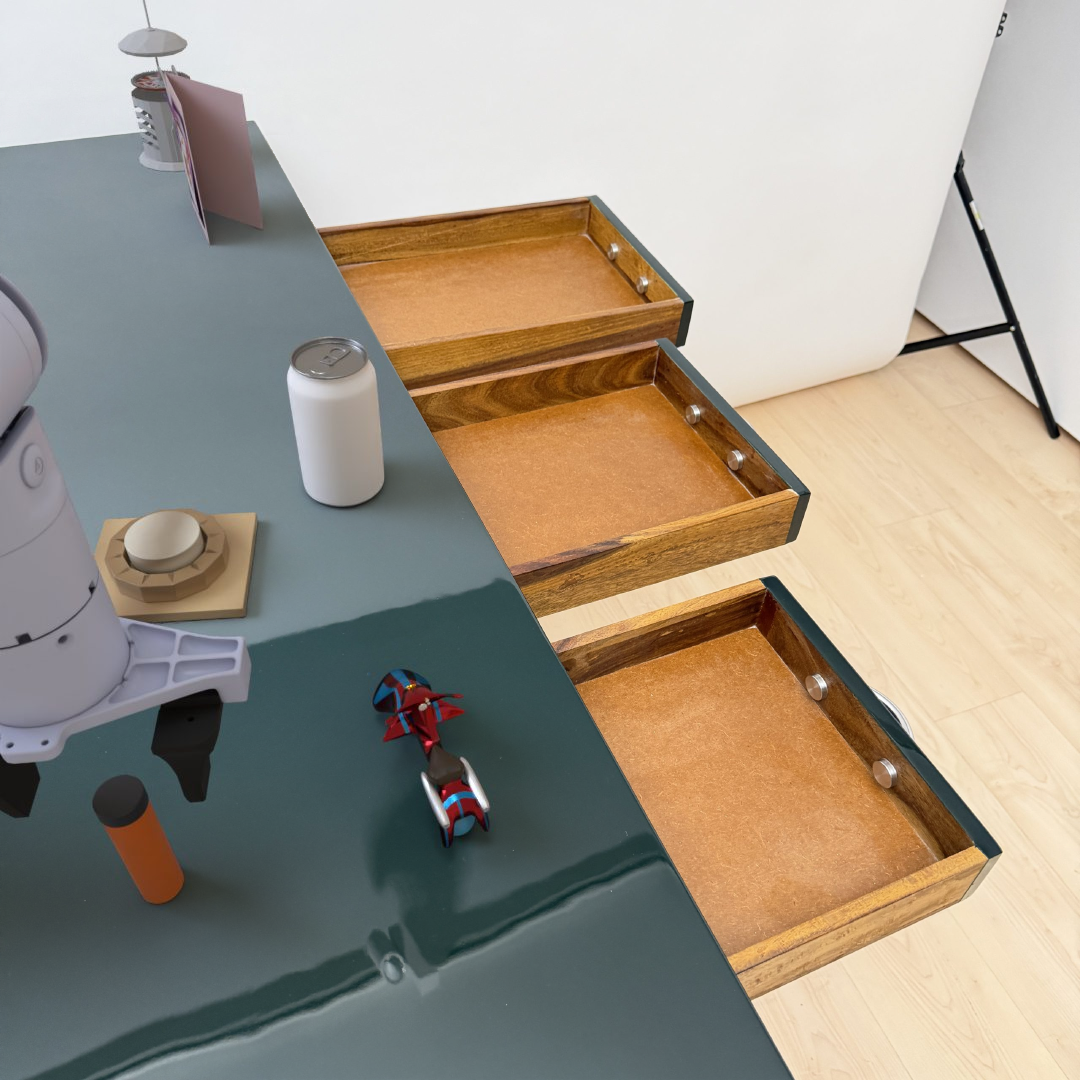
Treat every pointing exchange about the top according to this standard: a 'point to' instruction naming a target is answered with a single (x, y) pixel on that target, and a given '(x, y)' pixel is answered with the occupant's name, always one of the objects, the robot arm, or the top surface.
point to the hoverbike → (433, 751)
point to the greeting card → (215, 150)
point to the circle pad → (164, 542)
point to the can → (336, 420)
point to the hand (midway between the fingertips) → (114, 790)
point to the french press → (155, 96)
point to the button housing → (182, 572)
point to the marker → (138, 837)
